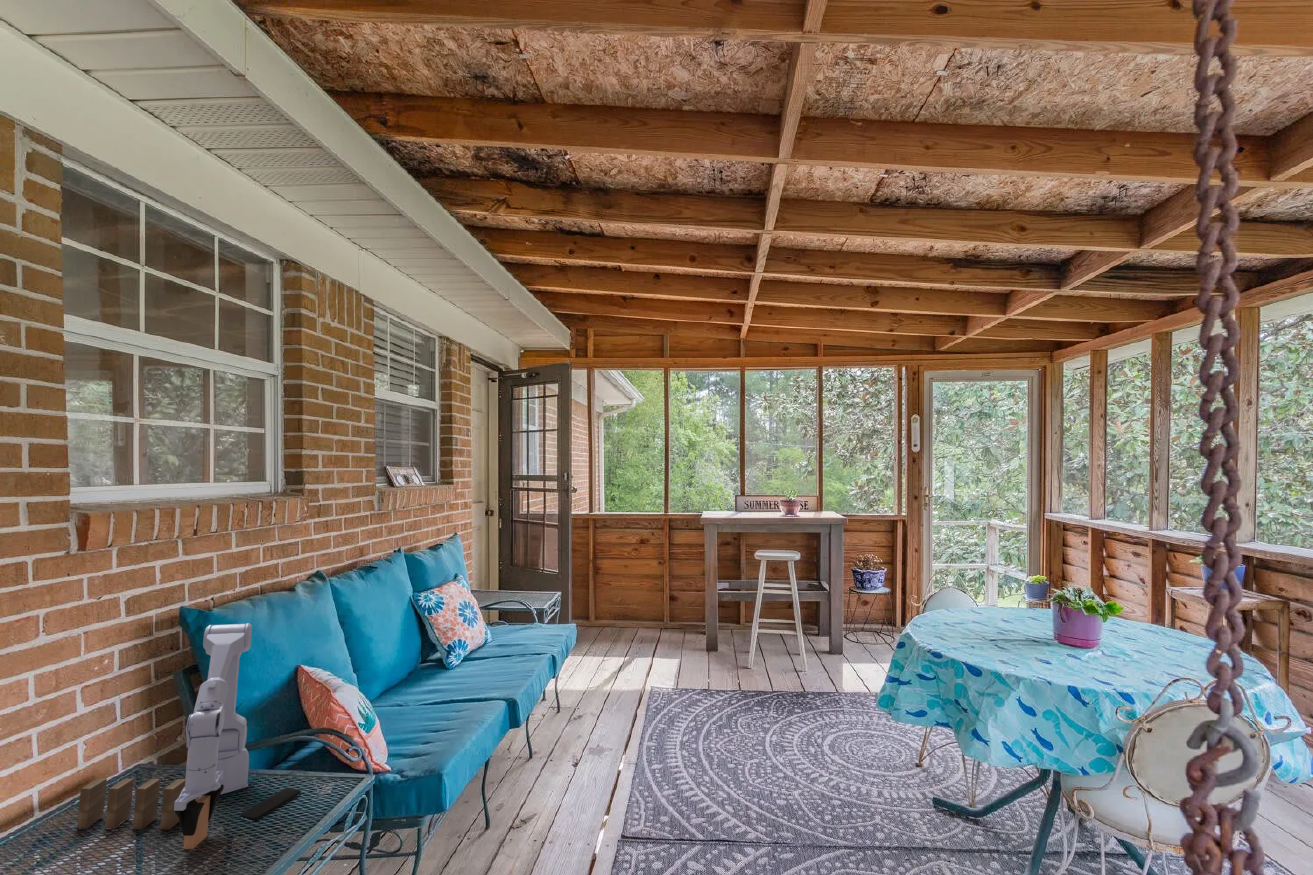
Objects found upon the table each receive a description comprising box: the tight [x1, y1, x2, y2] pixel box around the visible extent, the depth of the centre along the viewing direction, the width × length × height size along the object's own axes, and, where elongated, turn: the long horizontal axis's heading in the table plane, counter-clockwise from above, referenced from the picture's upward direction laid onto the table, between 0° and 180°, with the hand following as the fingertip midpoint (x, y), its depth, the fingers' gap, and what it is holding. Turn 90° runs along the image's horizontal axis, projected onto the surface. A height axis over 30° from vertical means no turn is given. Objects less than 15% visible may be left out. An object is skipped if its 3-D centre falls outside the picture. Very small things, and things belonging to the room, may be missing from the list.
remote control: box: [239, 787, 301, 821], centre depth 162 cm, size 5×2×15 cm
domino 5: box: [183, 795, 210, 850], centre depth 145 cm, size 2×5×9 cm, turn 4°
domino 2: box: [104, 778, 135, 830], centre depth 152 cm, size 2×5×9 cm, turn 4°
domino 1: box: [76, 778, 108, 829], centre depth 151 cm, size 2×5×9 cm, turn 4°
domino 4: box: [159, 778, 186, 830], centre depth 153 cm, size 2×5×9 cm, turn 5°
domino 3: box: [132, 778, 161, 830], centre depth 152 cm, size 2×5×9 cm, turn 4°
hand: (196, 827), depth 145 cm, fingers closed on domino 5, 5 cm apart
